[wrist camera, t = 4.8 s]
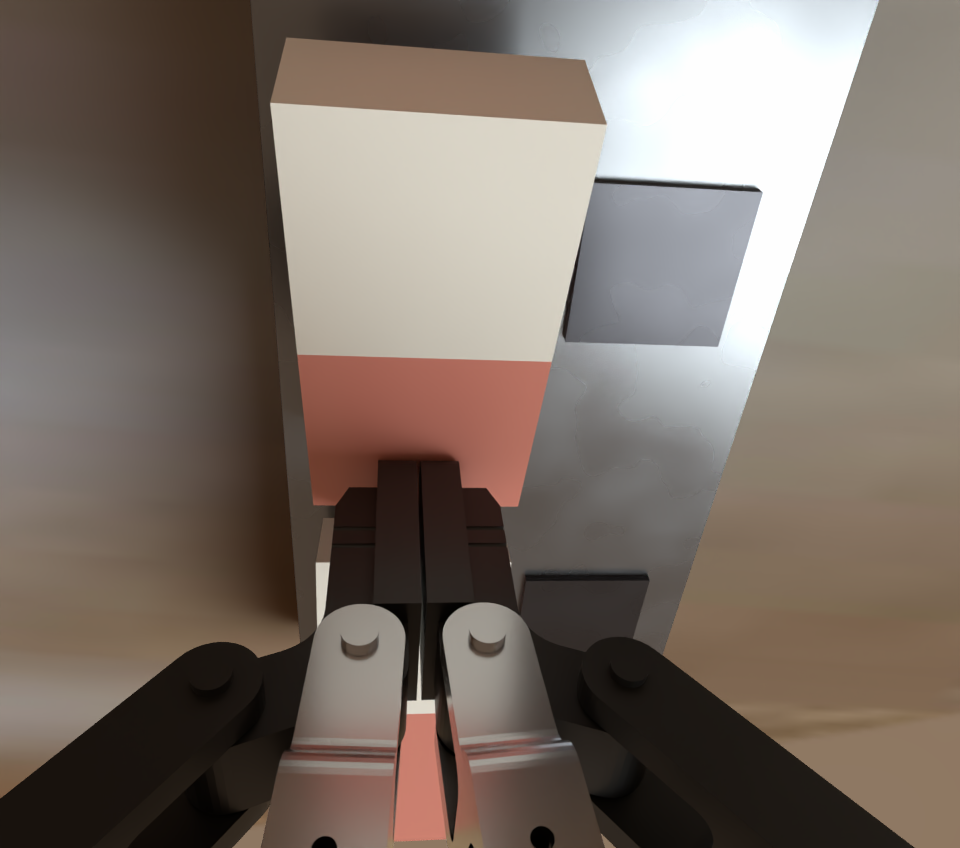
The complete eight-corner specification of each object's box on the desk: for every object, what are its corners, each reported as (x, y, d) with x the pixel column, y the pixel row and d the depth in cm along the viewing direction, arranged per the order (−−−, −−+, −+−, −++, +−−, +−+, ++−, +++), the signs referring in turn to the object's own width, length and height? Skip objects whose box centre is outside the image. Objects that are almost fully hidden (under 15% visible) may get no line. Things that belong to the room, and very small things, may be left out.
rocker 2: (500, 518, 18) (511, 562, 16) (479, 778, 21) (486, 837, 19) (323, 518, 17) (315, 562, 16) (328, 783, 20) (321, 845, 19)
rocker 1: (584, 59, 11) (607, 124, 9) (510, 437, 16) (518, 506, 15) (286, 36, 10) (269, 102, 9) (320, 434, 16) (313, 505, 15)
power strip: (1018, -934, 10) (1342, -1363, 7) (609, 624, 27) (639, 732, 23) (221, -1129, 9) (108, -1777, 5) (319, 628, 26) (306, 742, 22)
